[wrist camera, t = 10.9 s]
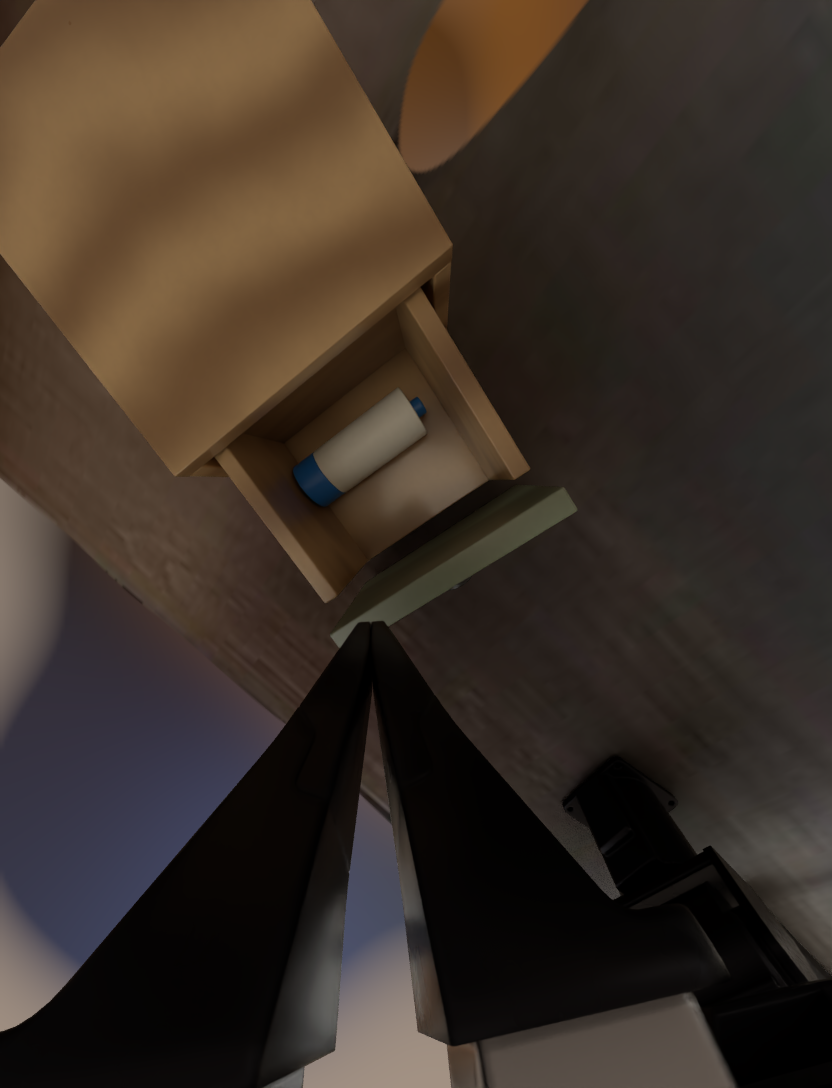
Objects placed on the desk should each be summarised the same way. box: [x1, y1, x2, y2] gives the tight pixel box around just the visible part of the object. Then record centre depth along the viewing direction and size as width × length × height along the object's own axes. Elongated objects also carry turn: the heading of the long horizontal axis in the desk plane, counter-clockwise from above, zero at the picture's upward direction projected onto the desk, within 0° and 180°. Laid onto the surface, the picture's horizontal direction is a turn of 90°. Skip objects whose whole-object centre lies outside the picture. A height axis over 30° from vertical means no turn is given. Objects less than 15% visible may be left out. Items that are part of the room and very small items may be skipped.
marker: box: [293, 387, 427, 507], centre depth 18 cm, size 8×3×3 cm
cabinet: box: [0, 0, 453, 477], centre depth 15 cm, size 14×14×10 cm
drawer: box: [214, 287, 577, 648], centre depth 17 cm, size 14×12×8 cm
